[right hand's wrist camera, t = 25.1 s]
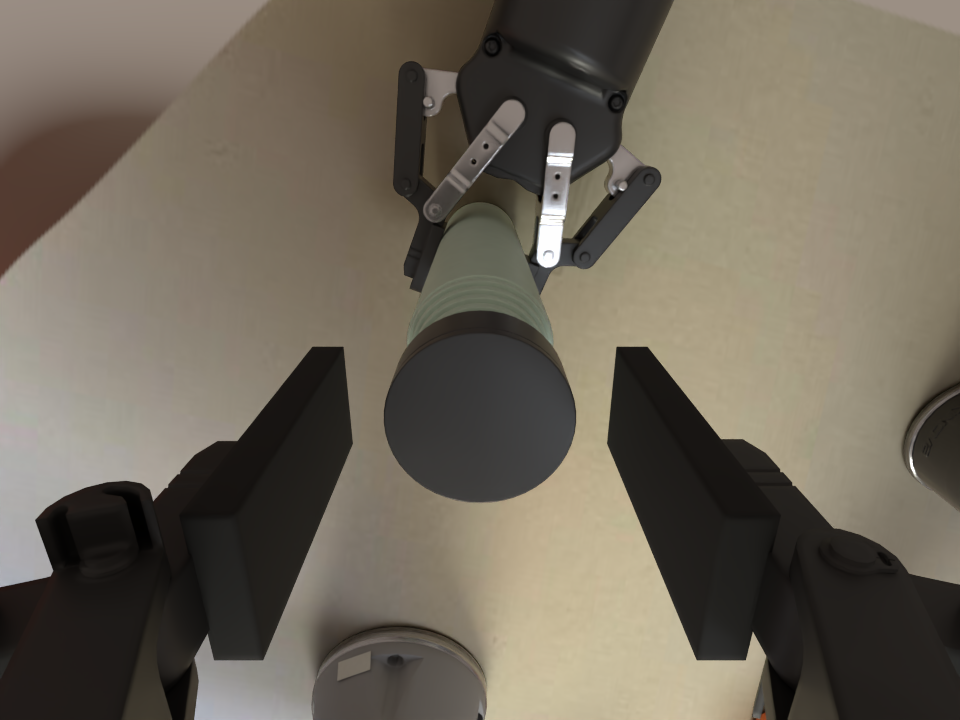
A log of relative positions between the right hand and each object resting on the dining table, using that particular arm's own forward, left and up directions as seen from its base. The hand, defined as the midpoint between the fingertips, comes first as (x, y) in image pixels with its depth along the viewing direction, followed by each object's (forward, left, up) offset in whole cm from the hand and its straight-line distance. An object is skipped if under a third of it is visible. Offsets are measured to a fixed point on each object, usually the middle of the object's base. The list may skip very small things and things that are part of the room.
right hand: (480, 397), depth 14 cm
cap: (0, 0, +1) cm, 1 cm away
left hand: (-1, +2, -17) cm, 17 cm away
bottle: (0, 0, -23) cm, 23 cm away
